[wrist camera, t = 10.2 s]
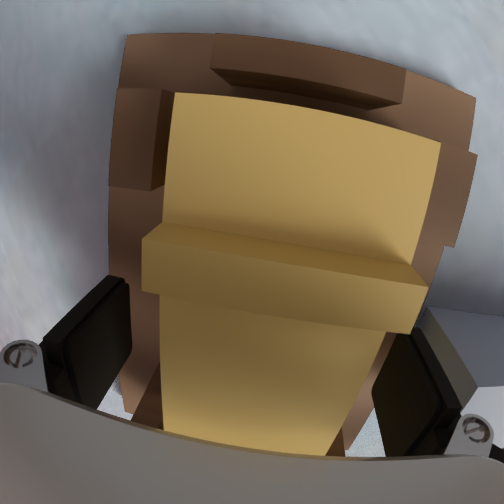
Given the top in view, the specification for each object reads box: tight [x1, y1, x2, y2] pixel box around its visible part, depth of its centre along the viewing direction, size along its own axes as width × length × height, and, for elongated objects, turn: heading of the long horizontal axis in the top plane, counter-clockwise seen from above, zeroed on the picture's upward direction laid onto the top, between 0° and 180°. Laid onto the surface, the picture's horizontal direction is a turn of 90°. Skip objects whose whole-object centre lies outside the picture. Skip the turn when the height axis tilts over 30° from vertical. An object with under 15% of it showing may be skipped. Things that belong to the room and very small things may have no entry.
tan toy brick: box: [142, 92, 441, 456], centre depth 10 cm, size 14×5×7 cm, turn 172°
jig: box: [108, 33, 478, 457], centre depth 12 cm, size 20×14×6 cm
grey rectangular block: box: [418, 306, 504, 448], centre depth 12 cm, size 4×10×6 cm, turn 82°
